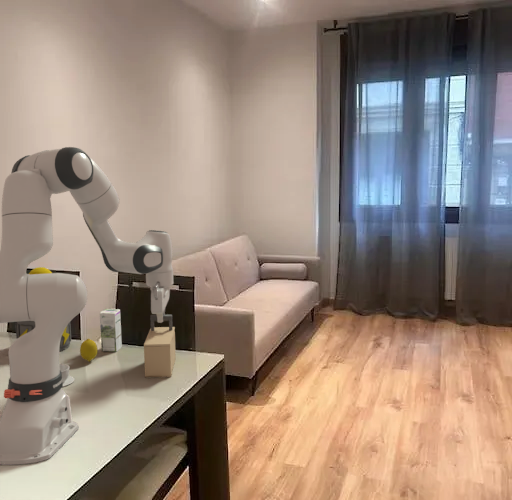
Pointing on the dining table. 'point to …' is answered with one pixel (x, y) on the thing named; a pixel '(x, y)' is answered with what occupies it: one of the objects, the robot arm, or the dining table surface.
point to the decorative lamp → (27, 326)
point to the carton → (159, 360)
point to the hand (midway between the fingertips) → (161, 320)
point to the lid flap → (160, 332)
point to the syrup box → (110, 330)
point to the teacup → (66, 374)
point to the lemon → (88, 350)
